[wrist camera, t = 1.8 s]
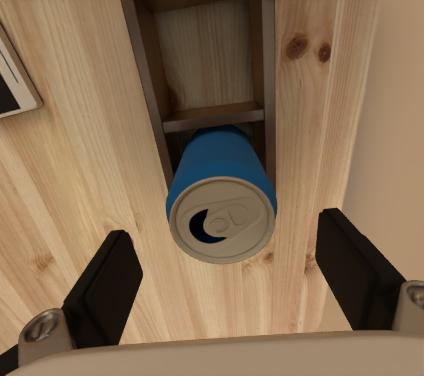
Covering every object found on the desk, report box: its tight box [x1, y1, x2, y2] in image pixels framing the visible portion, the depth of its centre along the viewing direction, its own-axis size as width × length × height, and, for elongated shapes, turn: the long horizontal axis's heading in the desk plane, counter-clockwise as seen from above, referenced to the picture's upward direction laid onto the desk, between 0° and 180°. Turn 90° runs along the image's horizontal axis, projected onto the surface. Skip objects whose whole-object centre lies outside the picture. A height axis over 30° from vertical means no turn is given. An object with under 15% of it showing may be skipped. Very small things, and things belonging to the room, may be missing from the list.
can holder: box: [121, 0, 276, 194], centre depth 19 cm, size 17×9×5 cm, turn 8°
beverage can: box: [166, 125, 277, 264], centre depth 17 cm, size 6×6×12 cm
